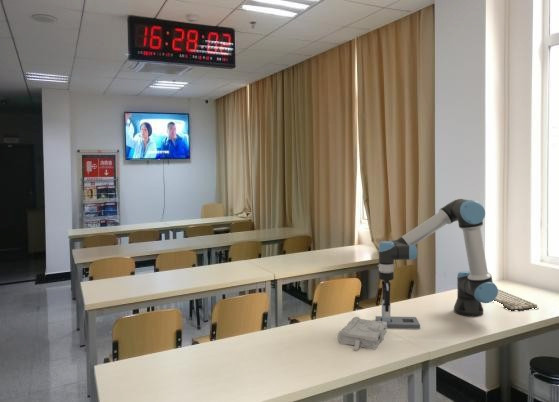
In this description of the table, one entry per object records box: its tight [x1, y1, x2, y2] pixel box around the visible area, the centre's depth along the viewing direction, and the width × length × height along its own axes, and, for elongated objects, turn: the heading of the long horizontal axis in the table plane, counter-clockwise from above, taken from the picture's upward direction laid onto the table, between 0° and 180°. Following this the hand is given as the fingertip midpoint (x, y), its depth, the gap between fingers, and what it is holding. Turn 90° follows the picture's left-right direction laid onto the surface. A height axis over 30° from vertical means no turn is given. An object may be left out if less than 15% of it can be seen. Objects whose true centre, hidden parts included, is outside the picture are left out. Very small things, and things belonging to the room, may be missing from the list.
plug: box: [381, 300, 391, 322], centre depth 233 cm, size 4×4×11 cm
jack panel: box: [375, 315, 421, 330], centre depth 233 cm, size 21×12×2 cm, turn 83°
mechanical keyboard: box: [494, 288, 538, 312], centre depth 270 cm, size 38×19×3 cm, turn 10°
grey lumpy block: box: [337, 316, 388, 351], centre depth 214 cm, size 19×28×8 cm
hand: (386, 315), depth 233 cm, fingers closed on plug, 4 cm apart
